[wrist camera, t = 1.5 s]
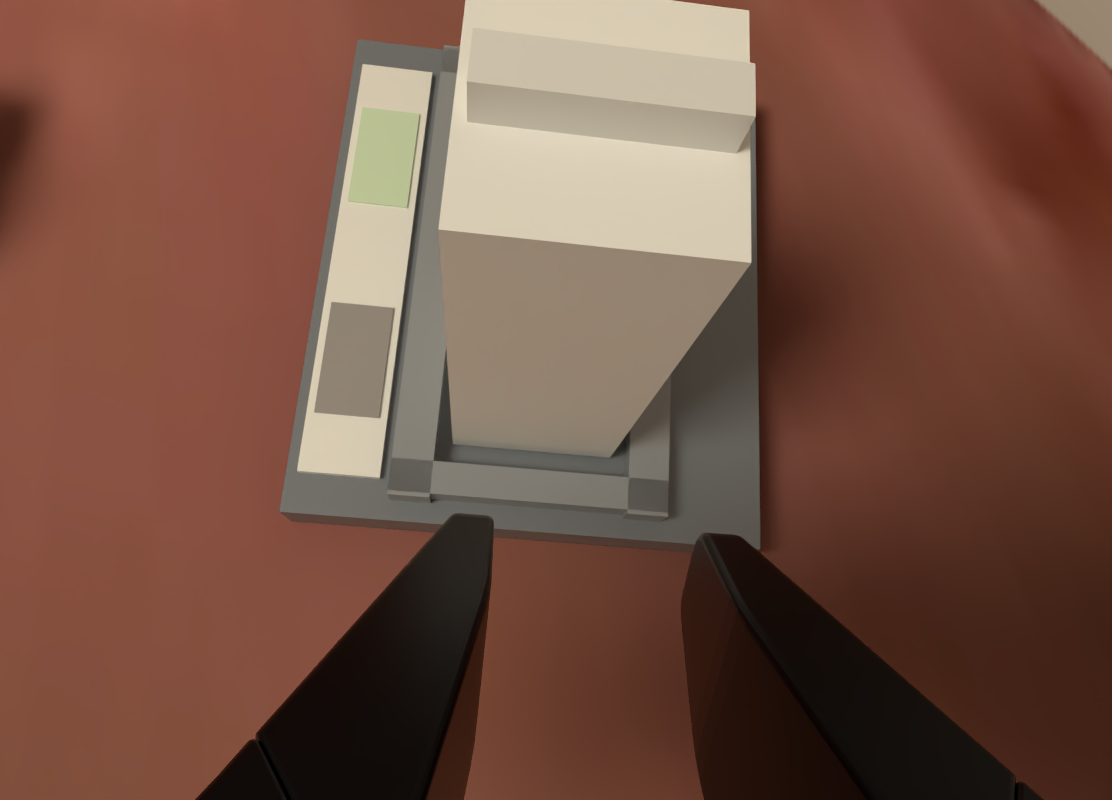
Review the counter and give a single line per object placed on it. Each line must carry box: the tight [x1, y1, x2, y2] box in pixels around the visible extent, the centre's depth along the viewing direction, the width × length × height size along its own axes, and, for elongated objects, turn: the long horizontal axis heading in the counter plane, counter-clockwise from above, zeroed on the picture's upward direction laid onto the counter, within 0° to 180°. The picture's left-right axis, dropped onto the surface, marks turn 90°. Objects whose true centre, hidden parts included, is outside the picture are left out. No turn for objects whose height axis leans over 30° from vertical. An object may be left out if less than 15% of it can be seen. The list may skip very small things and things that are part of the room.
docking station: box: [279, 39, 760, 552], centre depth 23 cm, size 14×12×2 cm
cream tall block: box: [438, 0, 756, 458], centre depth 16 cm, size 4×4×12 cm
